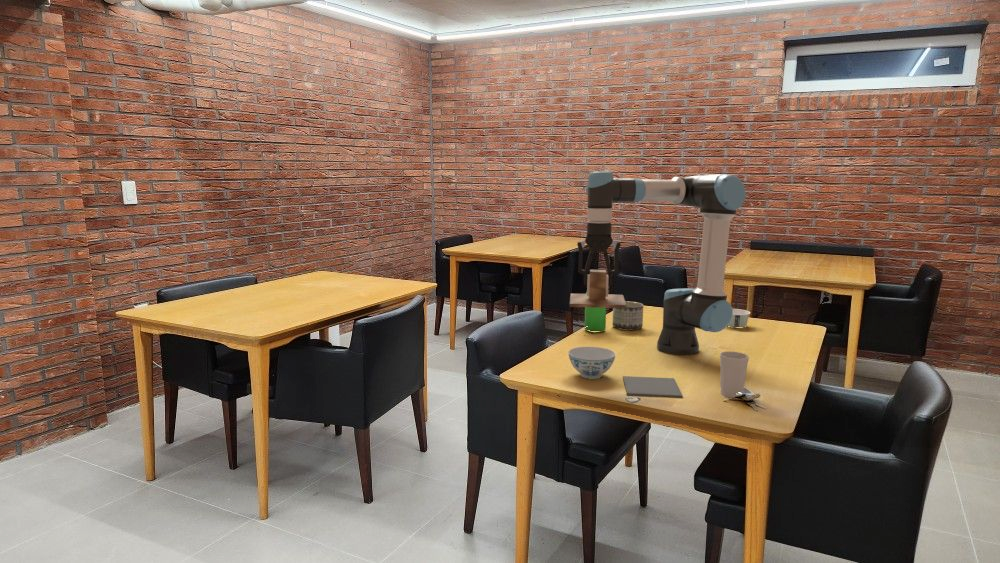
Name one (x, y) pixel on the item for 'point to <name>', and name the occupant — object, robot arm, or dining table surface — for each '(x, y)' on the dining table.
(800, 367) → the dining table surface
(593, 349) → the chinaware
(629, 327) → the planter
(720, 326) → the robot arm
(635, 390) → the mat
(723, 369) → the cup
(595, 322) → the bottle
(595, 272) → the lid
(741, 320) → the food container
